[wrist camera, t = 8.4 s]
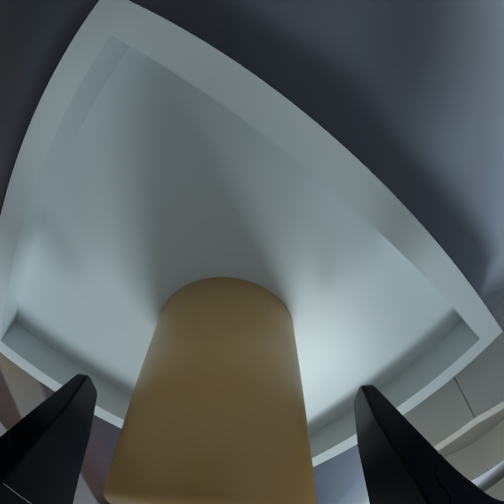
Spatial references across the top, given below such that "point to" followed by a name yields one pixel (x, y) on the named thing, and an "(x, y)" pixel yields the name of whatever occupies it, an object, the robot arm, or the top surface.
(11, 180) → the grey tray
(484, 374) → the ceramic dish
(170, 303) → the tan rounded cylinder
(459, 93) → the top surface
